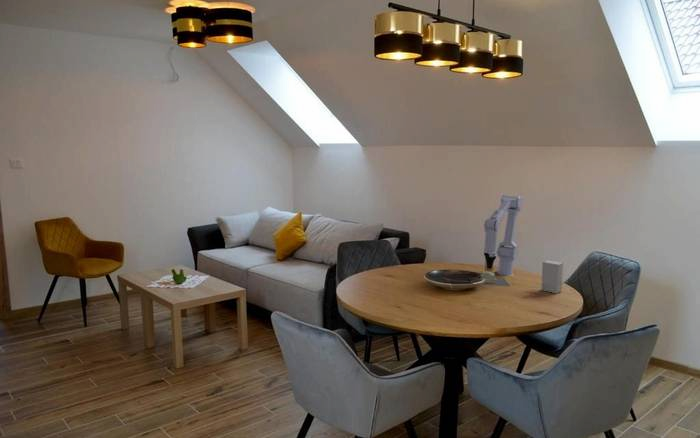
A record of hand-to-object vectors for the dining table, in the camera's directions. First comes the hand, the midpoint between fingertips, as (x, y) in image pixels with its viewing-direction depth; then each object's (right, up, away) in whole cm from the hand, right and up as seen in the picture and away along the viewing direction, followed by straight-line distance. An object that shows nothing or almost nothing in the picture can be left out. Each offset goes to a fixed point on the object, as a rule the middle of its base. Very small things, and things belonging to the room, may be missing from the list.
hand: (488, 267), depth 277 cm
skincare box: (+28, -11, -12) cm, 32 cm away
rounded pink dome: (0, -1, 0) cm, 2 cm away
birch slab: (0, -7, +1) cm, 7 cm away
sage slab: (0, -5, +1) cm, 5 cm away
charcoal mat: (0, -8, +1) cm, 8 cm away
